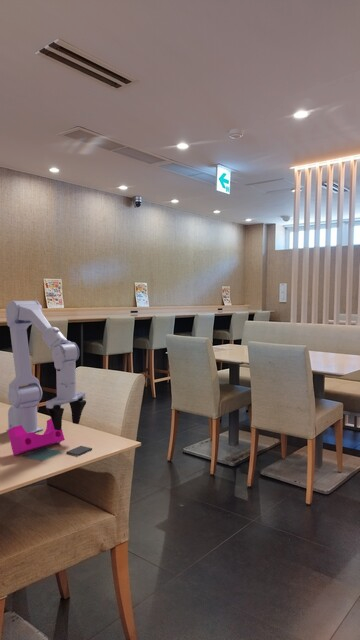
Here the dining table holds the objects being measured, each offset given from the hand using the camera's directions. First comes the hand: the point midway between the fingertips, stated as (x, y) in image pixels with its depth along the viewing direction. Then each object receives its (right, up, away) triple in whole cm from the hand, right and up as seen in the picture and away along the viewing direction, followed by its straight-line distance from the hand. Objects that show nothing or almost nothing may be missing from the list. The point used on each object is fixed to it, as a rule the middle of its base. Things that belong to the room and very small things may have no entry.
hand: (67, 426), depth 141 cm
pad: (-5, -6, -8) cm, 11 cm away
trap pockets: (-2, -6, -2) cm, 6 cm away
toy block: (-6, -5, -5) cm, 9 cm away
